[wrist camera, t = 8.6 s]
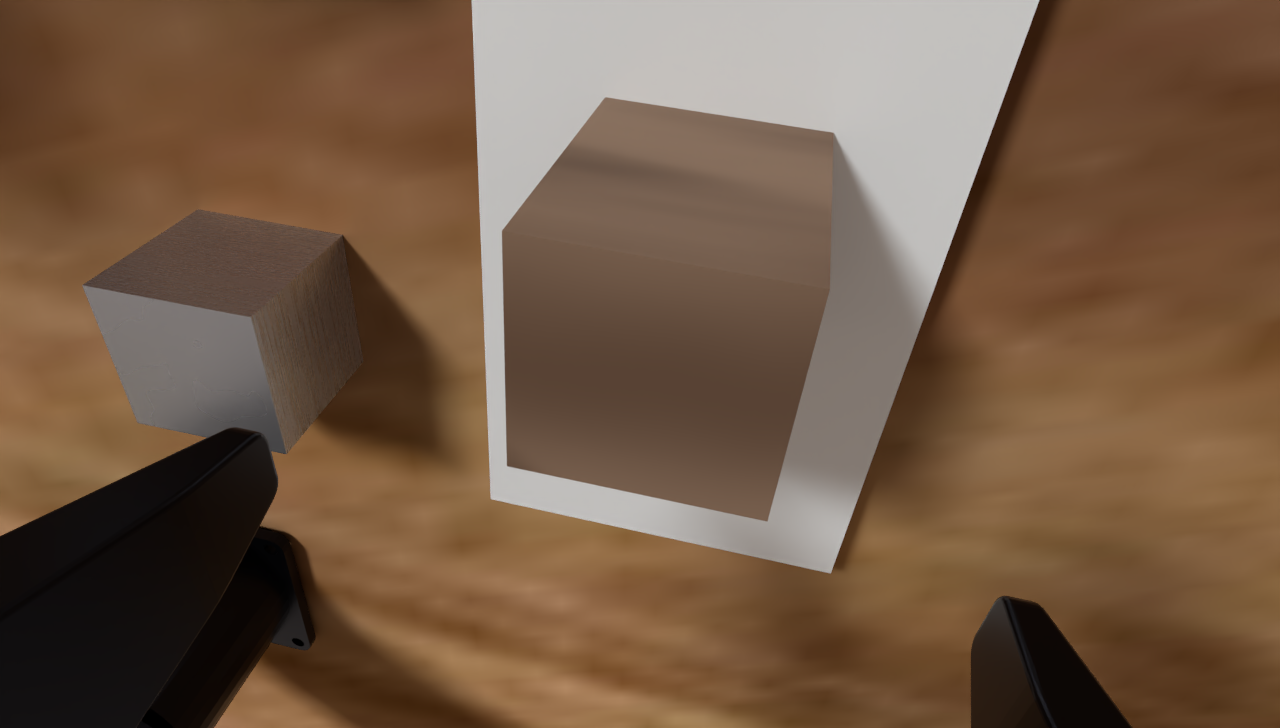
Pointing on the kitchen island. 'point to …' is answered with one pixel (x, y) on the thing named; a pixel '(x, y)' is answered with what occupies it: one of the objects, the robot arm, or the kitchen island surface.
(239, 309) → the grey metal block
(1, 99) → the kitchen island surface
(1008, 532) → the kitchen island surface
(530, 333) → the walnut block
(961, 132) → the cream tile
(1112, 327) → the kitchen island surface
